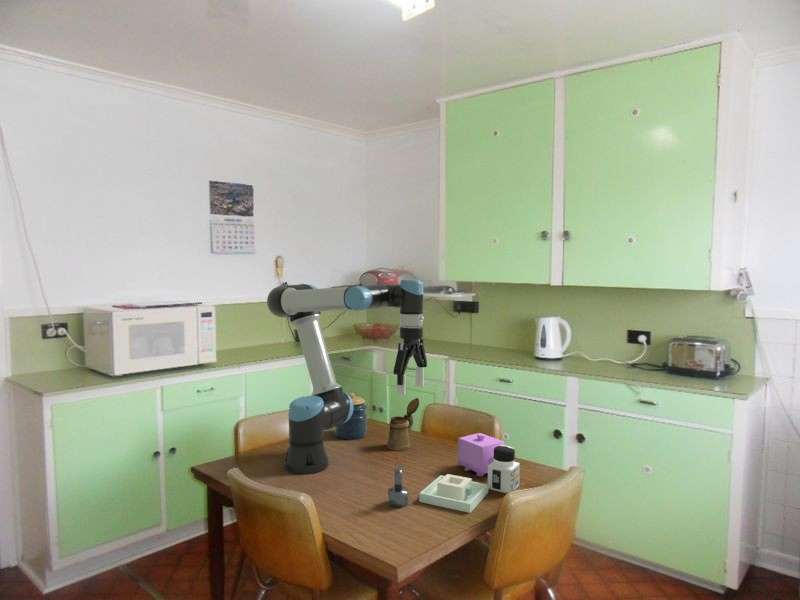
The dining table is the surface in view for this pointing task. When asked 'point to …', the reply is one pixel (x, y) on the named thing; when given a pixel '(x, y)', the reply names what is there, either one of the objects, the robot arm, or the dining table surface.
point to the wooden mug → (402, 428)
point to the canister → (354, 421)
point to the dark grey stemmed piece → (398, 491)
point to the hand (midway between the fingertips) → (410, 390)
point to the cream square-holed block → (454, 487)
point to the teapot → (477, 452)
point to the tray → (467, 505)
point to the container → (503, 470)
